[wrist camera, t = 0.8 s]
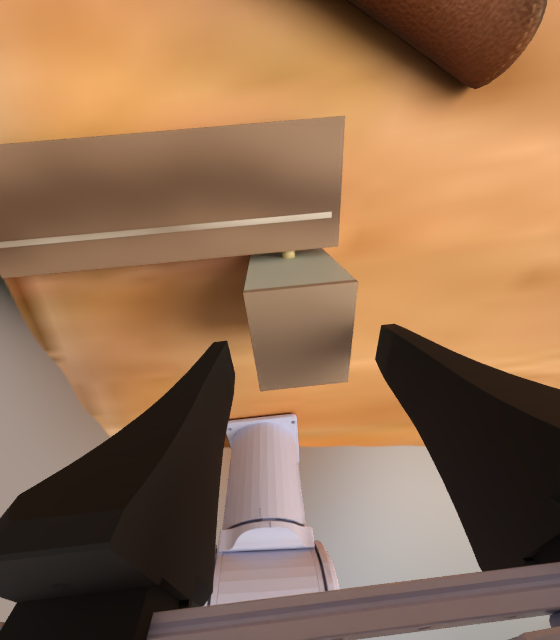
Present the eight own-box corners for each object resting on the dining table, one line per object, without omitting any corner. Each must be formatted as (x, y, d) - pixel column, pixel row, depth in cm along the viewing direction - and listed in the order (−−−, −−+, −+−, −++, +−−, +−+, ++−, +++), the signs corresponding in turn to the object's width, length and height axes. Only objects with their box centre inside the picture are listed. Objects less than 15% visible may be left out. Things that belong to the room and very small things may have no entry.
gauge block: (319, 318, 19) (347, 382, 13) (261, 324, 19) (260, 391, 12) (320, 239, 16) (359, 270, 9) (250, 246, 16) (241, 281, 9)
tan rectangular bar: (327, 239, 16) (338, 246, 13) (39, 266, 15) (1, 278, 13) (330, 129, 13) (345, 115, 10) (-28, 159, 12) (-93, 151, 10)
